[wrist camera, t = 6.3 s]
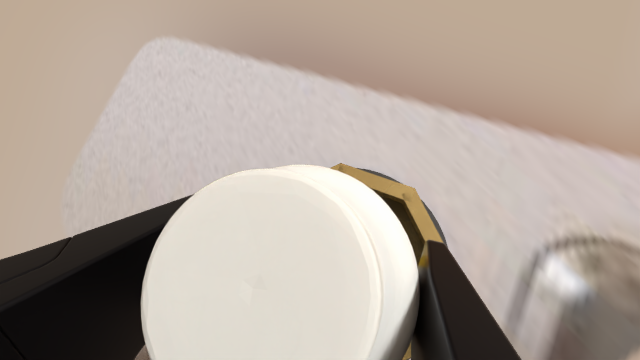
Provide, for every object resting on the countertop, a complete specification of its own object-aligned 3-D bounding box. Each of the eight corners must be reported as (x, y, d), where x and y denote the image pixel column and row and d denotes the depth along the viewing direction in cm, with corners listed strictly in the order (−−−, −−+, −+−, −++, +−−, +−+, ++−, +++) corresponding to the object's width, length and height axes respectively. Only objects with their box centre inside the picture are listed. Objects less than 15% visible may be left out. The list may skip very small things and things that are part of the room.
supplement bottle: (289, 206, 16) (142, 114, 6) (403, 217, 15) (449, 125, 5) (271, 325, 14) (48, 453, 5) (394, 348, 13) (436, 578, 4)
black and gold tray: (487, 323, 17) (502, 332, 15) (294, 402, 18) (283, 422, 16) (392, 143, 20) (393, 130, 18) (232, 215, 21) (216, 210, 19)
